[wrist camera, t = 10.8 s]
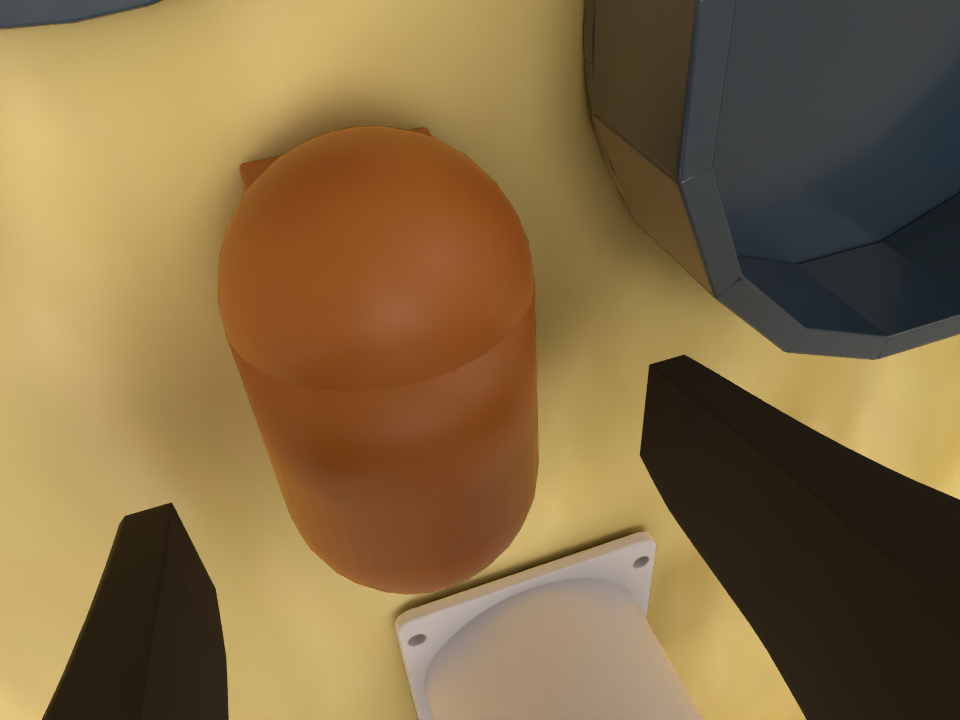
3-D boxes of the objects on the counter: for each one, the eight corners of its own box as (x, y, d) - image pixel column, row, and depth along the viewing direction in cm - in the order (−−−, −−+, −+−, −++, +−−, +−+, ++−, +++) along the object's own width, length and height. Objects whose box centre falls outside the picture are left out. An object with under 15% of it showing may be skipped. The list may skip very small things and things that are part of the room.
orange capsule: (494, 432, 18) (578, 596, 15) (295, 490, 17) (334, 682, 14) (466, 57, 13) (592, 177, 9) (167, 112, 12) (177, 271, 8)
